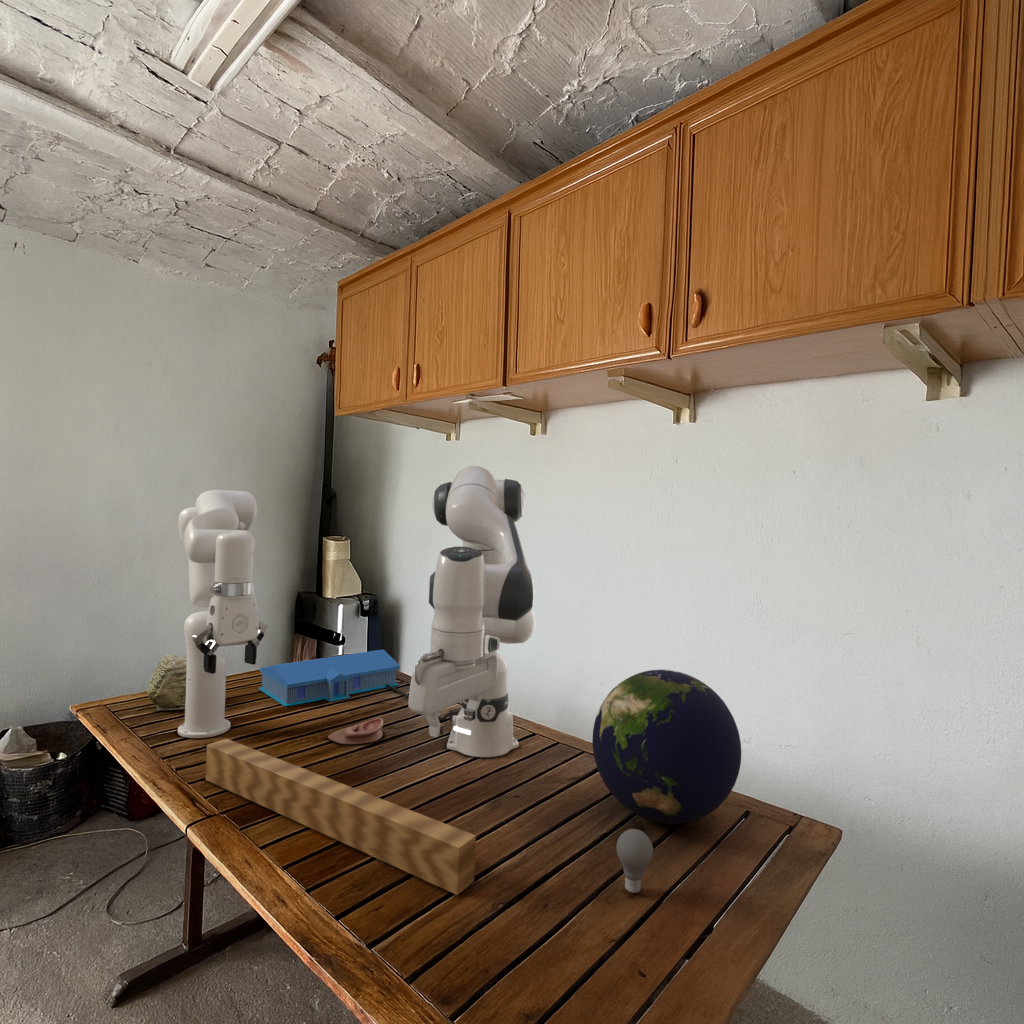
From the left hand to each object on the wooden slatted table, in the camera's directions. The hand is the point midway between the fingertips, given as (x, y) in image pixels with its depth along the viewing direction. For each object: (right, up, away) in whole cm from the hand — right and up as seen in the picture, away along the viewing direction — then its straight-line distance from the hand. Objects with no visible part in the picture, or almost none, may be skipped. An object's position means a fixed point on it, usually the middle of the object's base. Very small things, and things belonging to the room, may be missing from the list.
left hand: (230, 667), depth 138 cm
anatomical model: (+20, -26, +29) cm, 44 cm away
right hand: (+52, -2, -32) cm, 61 cm away
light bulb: (+81, -29, -32) cm, 92 cm away
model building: (+2, -24, +70) cm, 74 cm away
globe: (+92, -29, -6) cm, 97 cm away
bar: (+24, -27, -15) cm, 39 cm away
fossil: (-35, -23, +47) cm, 63 cm away
